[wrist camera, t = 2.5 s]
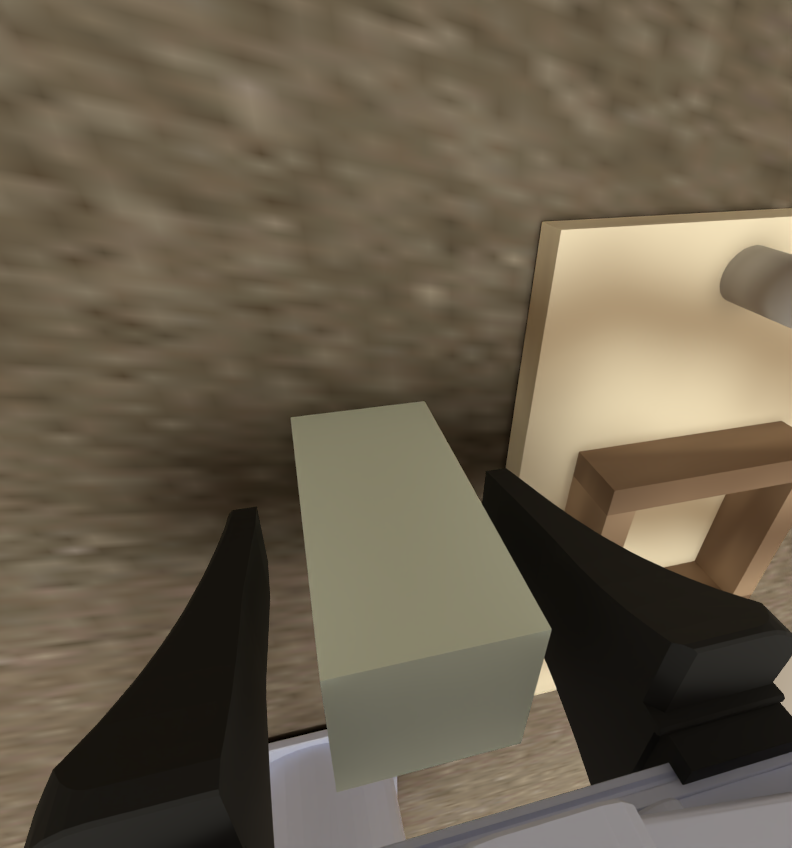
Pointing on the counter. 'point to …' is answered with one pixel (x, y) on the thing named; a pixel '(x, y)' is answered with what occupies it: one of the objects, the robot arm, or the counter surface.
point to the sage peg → (409, 598)
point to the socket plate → (664, 388)
